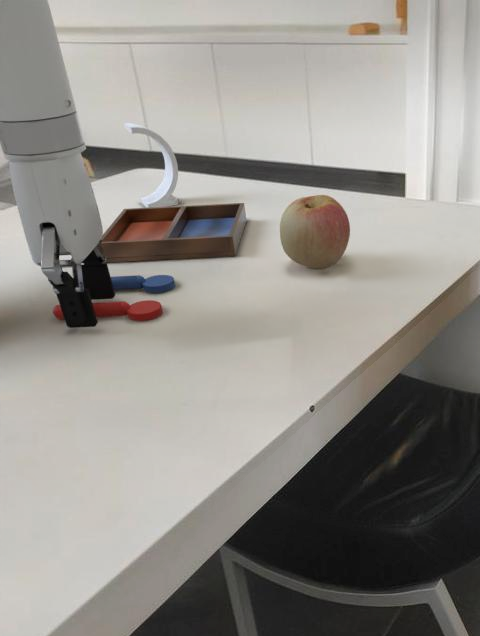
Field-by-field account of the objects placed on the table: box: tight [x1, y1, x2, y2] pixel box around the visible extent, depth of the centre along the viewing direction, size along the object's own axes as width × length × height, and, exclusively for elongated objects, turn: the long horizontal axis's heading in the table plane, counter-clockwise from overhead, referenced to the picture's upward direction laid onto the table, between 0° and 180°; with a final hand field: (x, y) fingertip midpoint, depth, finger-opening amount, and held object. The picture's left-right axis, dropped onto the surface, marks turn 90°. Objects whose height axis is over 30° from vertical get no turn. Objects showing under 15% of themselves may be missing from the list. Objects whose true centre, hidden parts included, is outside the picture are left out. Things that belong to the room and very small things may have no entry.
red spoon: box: [52, 299, 164, 322], centre depth 76 cm, size 4×12×2 cm, turn 93°
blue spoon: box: [110, 274, 176, 294], centre depth 83 cm, size 4×12×2 cm, turn 92°
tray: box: [101, 202, 247, 264], centre depth 97 cm, size 18×16×3 cm
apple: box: [279, 194, 351, 270], centre depth 85 cm, size 9×9×8 cm
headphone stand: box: [123, 122, 180, 208], centre depth 110 cm, size 5×6×12 cm
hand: (92, 310), depth 76 cm, fingers open, 6 cm apart
